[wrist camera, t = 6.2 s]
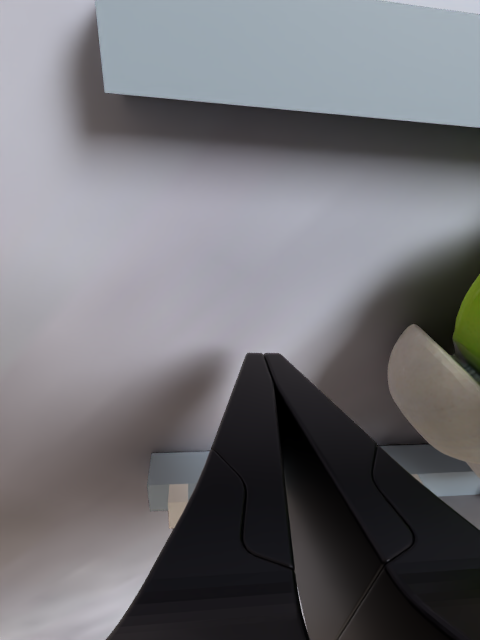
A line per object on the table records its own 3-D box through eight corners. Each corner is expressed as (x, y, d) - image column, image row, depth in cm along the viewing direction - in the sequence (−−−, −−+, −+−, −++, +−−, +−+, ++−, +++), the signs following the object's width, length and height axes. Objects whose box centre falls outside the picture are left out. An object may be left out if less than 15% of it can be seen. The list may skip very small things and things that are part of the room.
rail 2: (638, 437, 14) (689, 477, 13) (615, 460, 15) (661, 499, 14) (151, 453, 12) (144, 503, 10) (153, 479, 13) (147, 529, 11)
